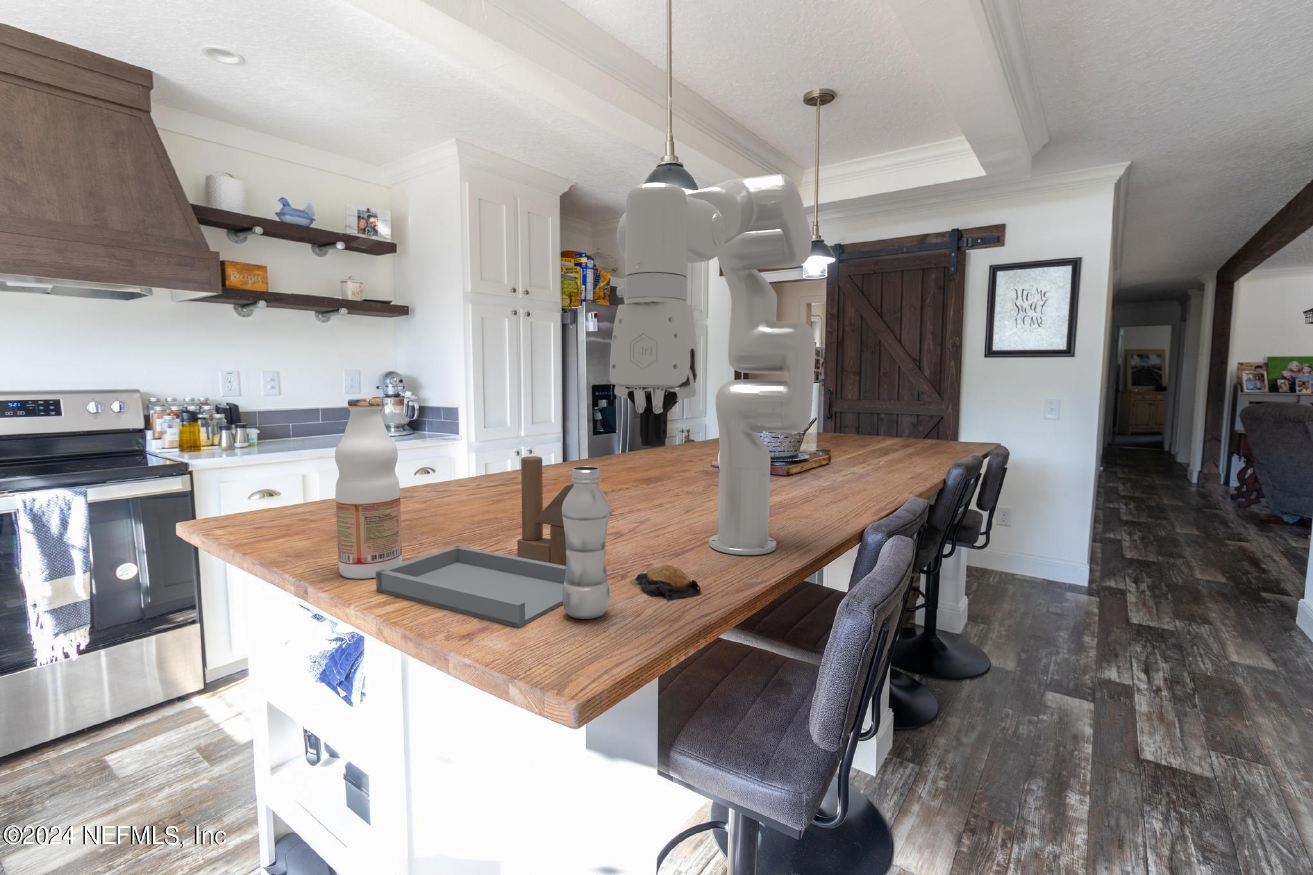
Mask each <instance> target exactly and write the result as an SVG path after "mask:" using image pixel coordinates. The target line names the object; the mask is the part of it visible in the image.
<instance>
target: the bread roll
mask: <svg viewBox="0 0 1313 875" xmlns="http://www.w3.org/2000/svg"><path fill="white" fill-rule="evenodd" d="M634 578H635V579H630V581H629V583H630V584H631V585H632V586H634V587H635V588H636V589H638V590H640V591H642V592H643V593H645V594H647V595H649V596H651V597H653V598H655V599H657V600H665V601H666V602H672V601H677V600H682V599H690V598H693V597H694V598H695V597H697V596H700V595H702V594H703V593H704V592H703V591H701V590H702V589H701V586H700V585H699V584H698V582H697V580H694V579H692V580H691V579H690V577H689V576H688V575H687V574H686V572H684V571H683V570H682V569H680V568H679V567H676V566H673V565H670V564H663V565H659V566H653V567H651V568H649V569H647V571H646V572H645V573H644V572H643V573H638V574H637V575H636V577H634Z"/></svg>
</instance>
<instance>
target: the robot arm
mask: <svg viewBox="0 0 1313 875" xmlns="http://www.w3.org/2000/svg"><path fill="white" fill-rule="evenodd" d="M625 201H626V202H625V212H624V213H623V215H622V216H621V217H620V219H619V221H618V226H617V230H616V241H617V245H618V246H617V247H618V249H619V252H620V254H621V256H622V257H623V258H624V260H625V261H624V264H625V265H624V266H625V267H624V271H625V273H624V279H623V285H622V286H618V287H616V295H617V297H618V298H623V301H624V303H623V304H618V307H617V310H616V313H615V318H614V322H613V323H614V324H613V329H612V338H611V345H610V346H611V347H610V358H609V380H610V382H611V383H612V385H615V386H614V395H616V396H617V397H621V398H623V399H627V400H629V401H630V402H631V403H632V405H633V406H634V407H635V410H636V412H637V413H638V414H639V437H640V439H641V440H640V442H641V446H642V447H653V448H655V447H660V446H664V445H665V443H666V439H667V438H668V414H669V413H670V412H672V408H674V407H675V406H676V405H677V403H679V401H683V400H687V399H692V398H695V397H696V395H697V391H696V390H697V389H696V385H695V383H696V382H697V378H698V348H697V347H698V346H697V345H698V343H697V333H696V324H695V320H694V319H695V317H694V313H693V308H692V305H691V304H689V303H688V264H694V263H695V264H696V263H705V262H708V261H712V260H714V259H715V258H716V257H717V260H718V264H719V267H720V269H721V271H722V274H723V276H724V280H725V282H726V284H727V287H728V289H729V290H728V291H729V294H730V299H731V300H730V301H731V304H730V305H731V308H730V319H729V335H728V345H727V353H728V354H727V358H728V363H729V366H730V367H731V369H733V370H735V371H737V372H740V373H745V374H746V373H747V374H783V375H785V376H786V378H787V379H783V380H782V379H756V378H755V379H754V378H752V379H751V378H750V379H747V378H746V379H745V378H744V379H734V380H730V381H727V382H725V383H723V384H722V385H721V386H720V387H719V388H718V390H717V392H716V395H715V412H716V419H717V426H718V438H719V442H718V443H719V458H718V459H719V460H718V462H719V463H718V465H719V466H718V468H719V469H718V503H717V504H718V506H717V508H718V510H717V513H718V514H717V519H718V520H717V534H714V535H712V536H711V537H710V538H709V540H708V541H709V546H710V548H712V549H713V550H716V551H718V552H721V553H724V554H729V555H739V556H740V555H741V556H757V555H764V554H765V555H766V554H769V553H773V551H775V550H776V549H777V541H776V540H775V539H774V538H772V537H770V536H769V525H770V521H769V520H770V518H769V517H770V488H771V485H770V484H771V482H770V481H771V454H770V450H769V448H768V446H767V445H766V443H765V442H764V440H763V439H762V437H761V436H760V435H759V433H782V434H783V433H784V434H786V433H788V434H796V433H797V434H798V433H801V432H804V431H806V430H807V428H808V427H809V425H810V422H811V419H812V418H811V417H812V413H813V410H812V409H813V402H814V401H813V398H814V383H815V382H814V378H815V366H816V365H815V364H816V339H815V334H814V331H813V329H812V327H811V326H810V325H809V324H807V323H806V322H803V321H797V320H784V321H783V320H782V321H781V320H779V321H777V311H778V310H777V308H778V307H777V306H778V296H777V293H776V292H775V290H774V288H773V287H772V285H771V284H770V282H768V280H767V279H766V278H765V277H764V276H763V275H762V274H761V273H760V272H759V270H770V269H783V268H784V269H787V268H788V269H789V268H795V267H799V266H802V265H804V264H805V263H806V261H808V260H809V257H810V255H811V251H812V245H813V244H812V242H813V241H812V232H811V228H810V224H809V221H808V217H807V214H806V211H805V210H806V209H805V206H804V203H803V200H802V196H801V194H800V191H799V189H798V187H797V185H796V184H795V182H794V180H793V179H792V178H791V177H789V176H788V175H787V174H783V173H774V174H765V175H758V176H749V177H742V178H739V177H738V178H734V179H729V180H728V179H727V180H725V181H722V182H720V183H718V184H714V185H711V186H709V187H705V188H700V189H696V190H692V191H688V192H686V191H685V190H684V189H682V188H681V187H680V186H678V185H675V184H671V183H666V182H647V183H642V184H638V185H636V186H634V187H633V188H631V190H629V192H628V194H627V196H626V200H625ZM654 388H655V391H654ZM678 388H679V389H678Z"/></svg>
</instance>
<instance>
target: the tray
mask: <svg viewBox="0 0 1313 875" xmlns="http://www.w3.org/2000/svg"><path fill="white" fill-rule="evenodd" d="M565 571H566V566H563V565H557V564H552V563H547V562H542V561H536V560H531V559H526V558H520V557H518V556H514V555H508V554H506V553H505V554H504V553H499V552H493V551H490V550H489V551H488V550H483V549H477V548H472V547H466V546H461V545H455V546H452V547H448V548H445V549H442V550H439V551H436V552H433V553H430V554H426V555H423V556H420V557H418V558H414V559H411V560H407V561H404V562H402V563H401V564H398V565H395V566H392V567H389V568H385V569H382V570H379V571H376V577H375V587H376V588H375V589H376V590H375V592H377V593H381V594H385V595H389V596H393V597H398V598H400V599H401V598H402V599H405V600H409V601H413V602H417V603H419V604H423V605H428V606H431V607H437V608H440V609H443V610H449V611H451V612H454V613H459V614H463V615H467V616H469V617H470V616H471V617H474V618H479V619H482V620H486V621H491V622H493V623H498V624H502V625H506V626H508V627H509V626H510V627H513V628H517V629H520V628H522V627H523V626H525V625H527V624H530V623H531V622H533V621H535V620H536V619H539V618H541V617H543V616H544V615H546V614H548V613H549V612H552V611H554V610H555V609H557V608H559V607H561V606H563V602H562V592H563V585H564V581H565Z"/></svg>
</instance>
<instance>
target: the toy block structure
mask: <svg viewBox="0 0 1313 875" xmlns="http://www.w3.org/2000/svg"><path fill="white" fill-rule="evenodd" d="M520 463H521V466H520V468H521V470H520V472H521V474H520V476H521V483H520V484H521V489H520V490H521V538H520V539H519V538H518V539H517V541H516V542H517V543H516V546H517V549H516V550H517V557H520V558H526V559H531V560H536V561H542V562H547V563H552V564H557V565H563V566H566V558H567V557H566V549H567V547H566V539H565V530H564V523H563V515H562V505H563V502H564V500H565V498H566V496H567V494H568V493H569V492H570V490H571V489H572V488H573V486H574V483H571V484H568V485H565V486H564V487H563V488H562V489H561V490H560V491H559V493H558V494H557V495H556V496H555V497H554V498H553V499H552V501H550V502H549V504H548V505H547V506H546V507H545V508H544V509H543V507H544V506H543V504H544V503H543V502H544V501H543V496H544V493H543V491H544V490H543V486H544V485H543V457H541V456H537V455H529V456H523V457H521V460H520ZM544 525H549V528H550V529H549V532H550V534H549V535H550V536H549V537H550V538H548V537H547V538H546V537H544Z"/></svg>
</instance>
